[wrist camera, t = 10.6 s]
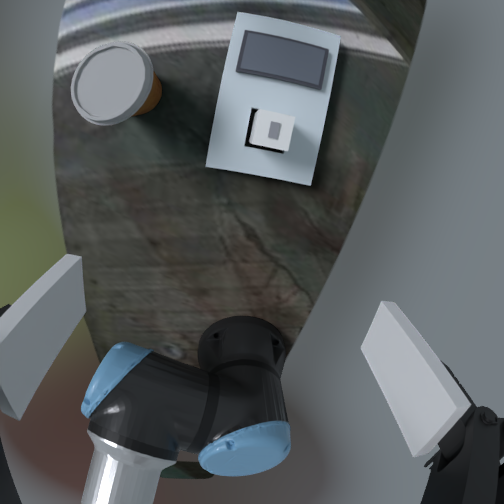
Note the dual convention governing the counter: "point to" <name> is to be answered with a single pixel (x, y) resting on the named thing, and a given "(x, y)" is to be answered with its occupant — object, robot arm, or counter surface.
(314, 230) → the counter surface
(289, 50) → the phone
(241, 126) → the outlet board
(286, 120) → the block
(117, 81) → the disposable coffee cup
